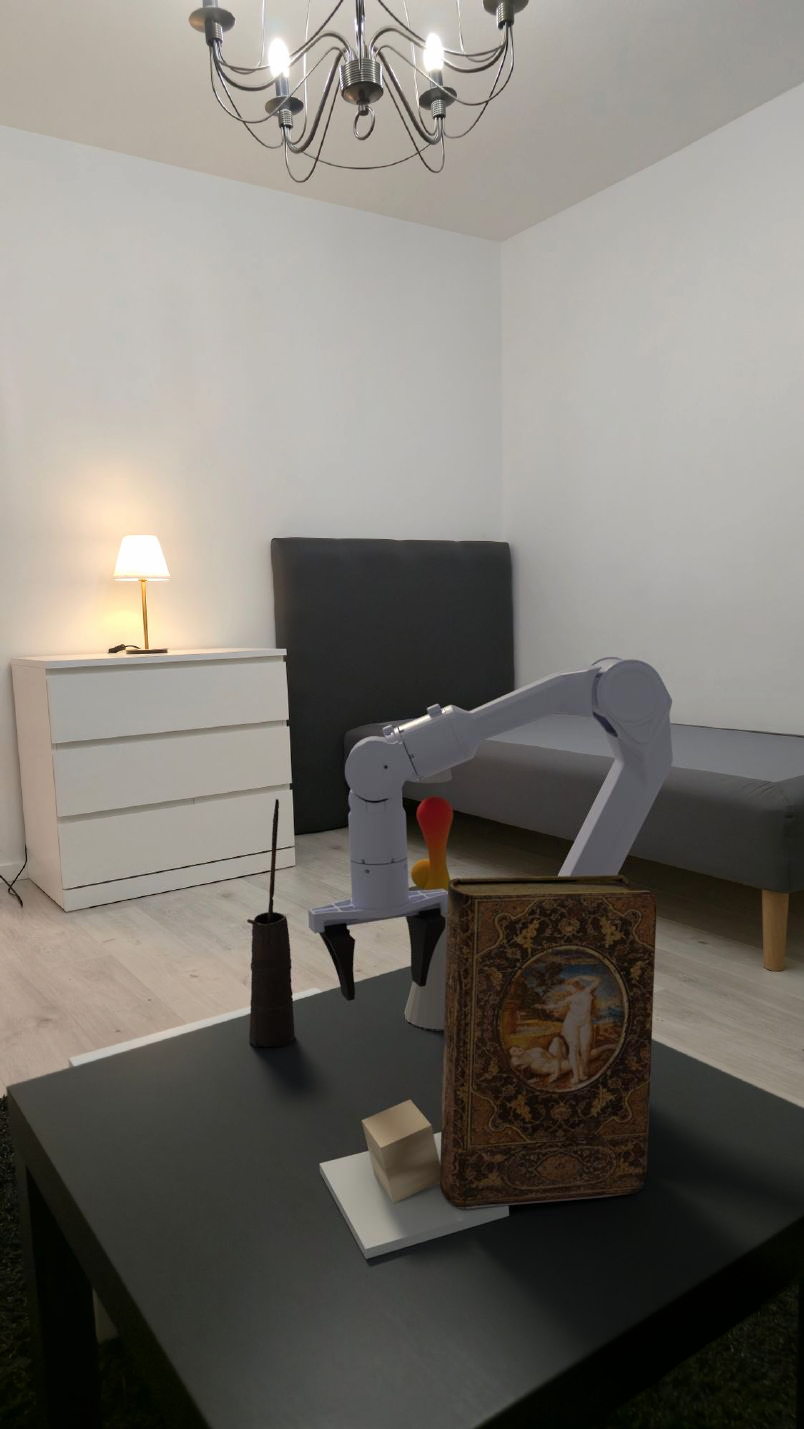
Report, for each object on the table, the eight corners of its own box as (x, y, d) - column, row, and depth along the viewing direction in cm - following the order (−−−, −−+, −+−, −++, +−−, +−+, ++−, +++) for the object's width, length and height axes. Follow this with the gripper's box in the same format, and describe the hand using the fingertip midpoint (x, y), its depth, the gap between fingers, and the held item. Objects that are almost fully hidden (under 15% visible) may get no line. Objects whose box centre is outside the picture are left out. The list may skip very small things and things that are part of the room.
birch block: (421, 1151, 78) (410, 1099, 77) (443, 1179, 74) (431, 1125, 73) (374, 1173, 77) (361, 1120, 76) (393, 1203, 73) (380, 1147, 72)
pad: (446, 1139, 83) (445, 1131, 83) (509, 1215, 72) (508, 1206, 72) (319, 1172, 78) (319, 1163, 78) (365, 1259, 67) (365, 1249, 67)
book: (448, 1210, 71) (457, 895, 69) (434, 1171, 76) (442, 878, 75) (645, 1194, 74) (658, 891, 72) (618, 1157, 79) (629, 874, 77)
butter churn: (239, 1069, 98) (225, 813, 95) (214, 1036, 106) (200, 800, 104) (318, 1049, 102) (306, 803, 99) (288, 1018, 110) (277, 791, 108)
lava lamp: (492, 1012, 110) (483, 725, 107) (443, 1038, 104) (432, 733, 100) (436, 993, 116) (427, 722, 113) (386, 1017, 110) (375, 729, 107)
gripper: (429, 841, 97) (433, 964, 98) (297, 858, 91) (304, 988, 93) (457, 855, 90) (462, 987, 91) (317, 874, 85) (323, 1014, 86)
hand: (384, 989), depth 92 cm, fingers open, 7 cm apart
